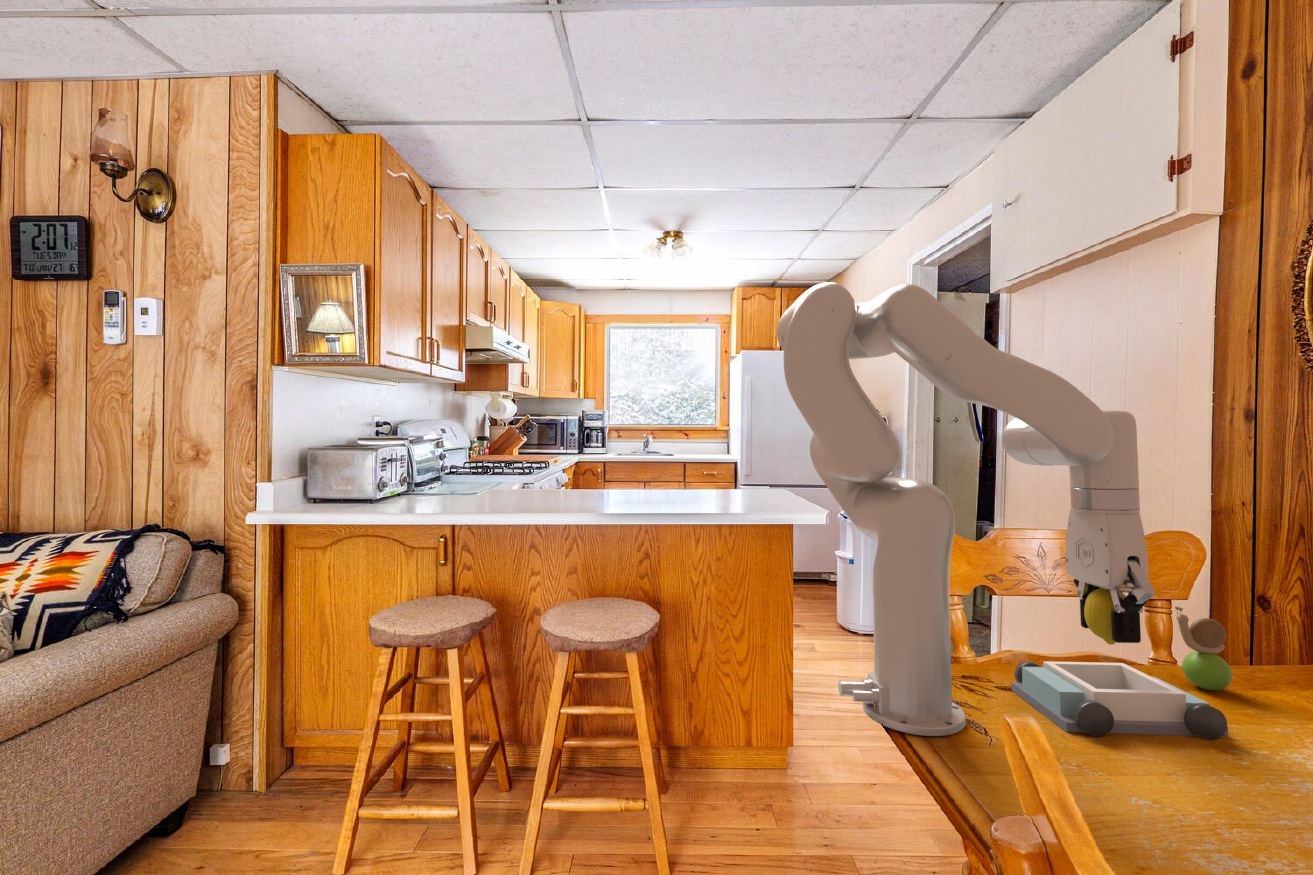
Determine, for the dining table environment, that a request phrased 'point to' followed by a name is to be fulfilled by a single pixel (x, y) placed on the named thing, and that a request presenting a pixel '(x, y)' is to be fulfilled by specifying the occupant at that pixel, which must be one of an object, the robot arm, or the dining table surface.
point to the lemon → (1100, 613)
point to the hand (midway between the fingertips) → (1109, 633)
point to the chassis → (1114, 701)
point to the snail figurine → (1204, 653)
